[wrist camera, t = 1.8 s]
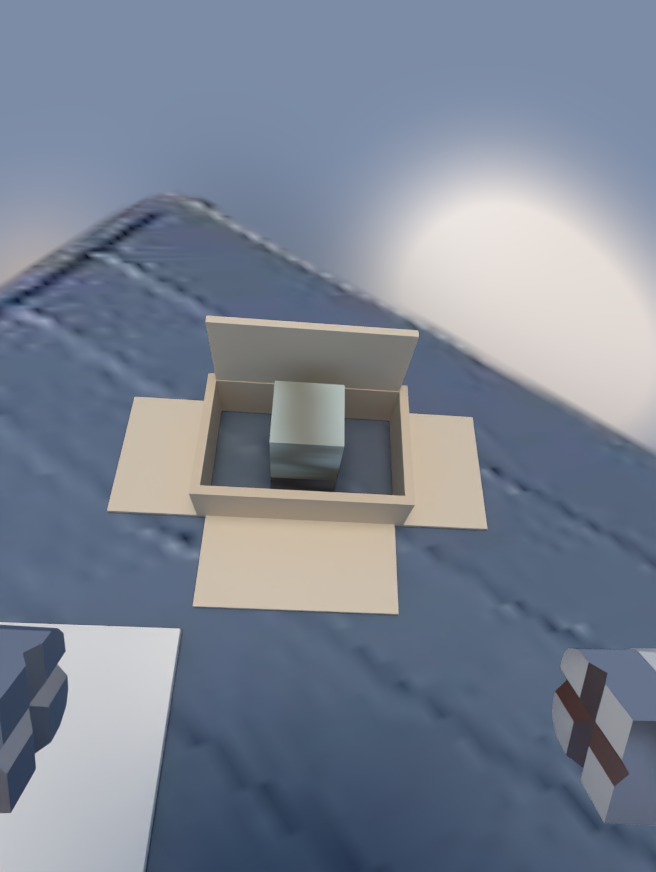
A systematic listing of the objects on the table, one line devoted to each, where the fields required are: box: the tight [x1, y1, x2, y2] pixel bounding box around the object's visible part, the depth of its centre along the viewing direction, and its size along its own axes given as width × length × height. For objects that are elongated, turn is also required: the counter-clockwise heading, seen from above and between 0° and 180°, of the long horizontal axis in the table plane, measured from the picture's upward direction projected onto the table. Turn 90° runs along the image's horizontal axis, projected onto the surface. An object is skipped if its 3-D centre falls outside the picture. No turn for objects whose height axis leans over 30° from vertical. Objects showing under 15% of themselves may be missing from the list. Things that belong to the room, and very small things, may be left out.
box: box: [269, 381, 345, 492], centre depth 35 cm, size 4×4×7 cm
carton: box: [107, 316, 487, 615], centre depth 33 cm, size 26×15×10 cm, turn 89°
